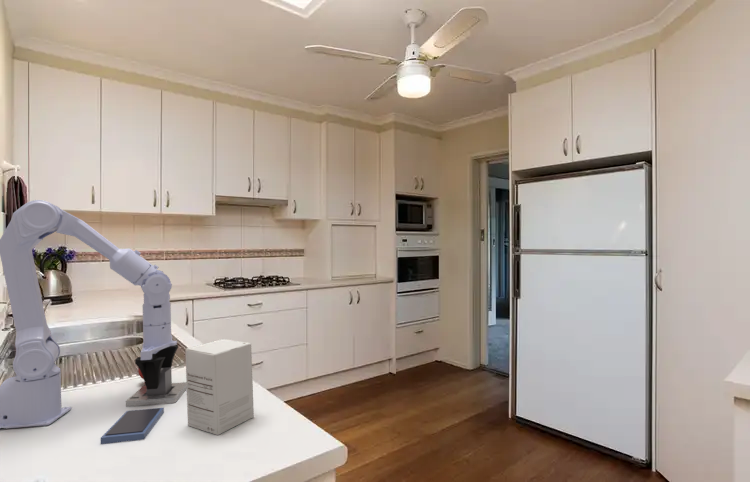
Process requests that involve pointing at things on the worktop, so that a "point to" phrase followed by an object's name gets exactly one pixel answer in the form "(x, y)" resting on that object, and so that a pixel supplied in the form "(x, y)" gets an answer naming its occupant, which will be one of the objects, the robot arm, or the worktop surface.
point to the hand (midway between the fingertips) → (158, 382)
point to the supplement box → (219, 385)
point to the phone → (132, 426)
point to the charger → (162, 383)
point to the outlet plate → (156, 396)
